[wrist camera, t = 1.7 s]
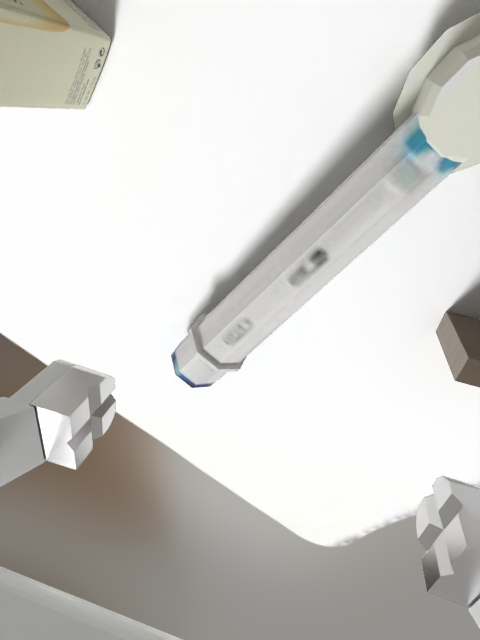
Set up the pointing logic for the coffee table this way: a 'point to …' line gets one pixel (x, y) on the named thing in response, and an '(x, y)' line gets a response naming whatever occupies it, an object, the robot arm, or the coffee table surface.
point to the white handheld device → (352, 207)
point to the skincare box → (48, 54)
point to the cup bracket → (461, 346)
